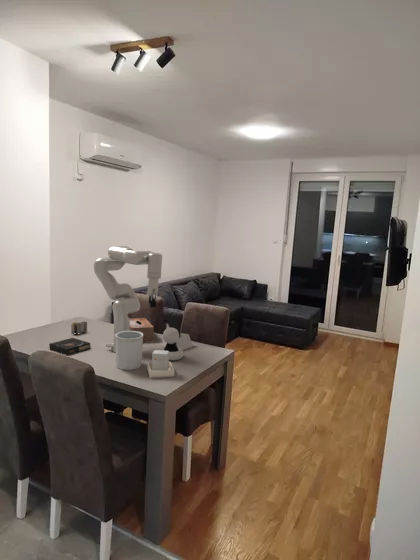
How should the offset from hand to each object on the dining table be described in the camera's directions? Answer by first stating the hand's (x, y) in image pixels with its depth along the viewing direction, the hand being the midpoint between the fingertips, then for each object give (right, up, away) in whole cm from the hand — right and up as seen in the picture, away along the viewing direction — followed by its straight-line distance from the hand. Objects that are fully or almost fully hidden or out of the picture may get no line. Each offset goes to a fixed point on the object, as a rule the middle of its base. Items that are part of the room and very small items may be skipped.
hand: (152, 305), depth 209 cm
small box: (+6, -34, -14) cm, 37 cm away
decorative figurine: (+10, -32, +10) cm, 35 cm away
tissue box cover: (-17, -25, +49) cm, 58 cm away
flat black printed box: (-52, -28, +16) cm, 61 cm away
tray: (+6, -34, -14) cm, 38 cm away
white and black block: (+14, -30, +29) cm, 44 cm away
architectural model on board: (-58, -24, +49) cm, 80 cm away
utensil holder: (-12, -33, -6) cm, 35 cm away
